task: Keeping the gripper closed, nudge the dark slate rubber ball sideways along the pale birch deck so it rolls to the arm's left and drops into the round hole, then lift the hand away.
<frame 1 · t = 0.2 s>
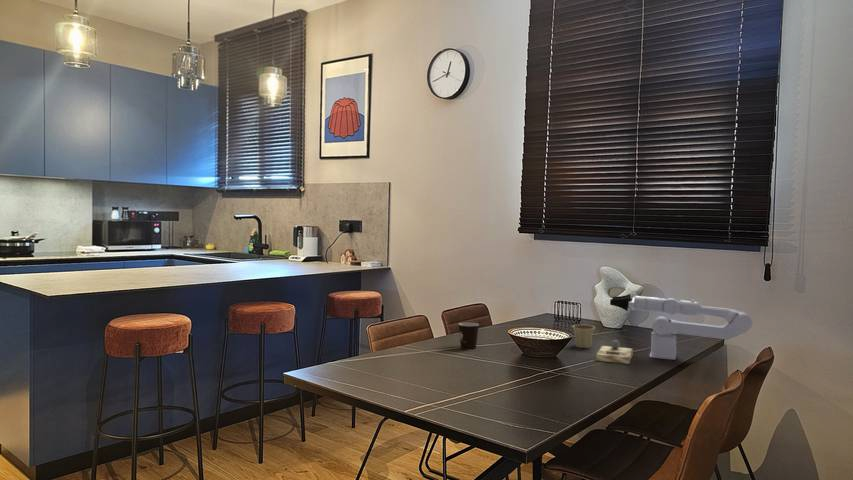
hand: (611, 300, 242), 21 cm above the table, tool horizontal, fingers open, 7 cm apart
coffee mug: (468, 347, 248), on the table
ball: (615, 344, 237), point 4 cm above the table, touching deck
flower pot: (583, 347, 252), on the table
deck: (614, 357, 232), on the table
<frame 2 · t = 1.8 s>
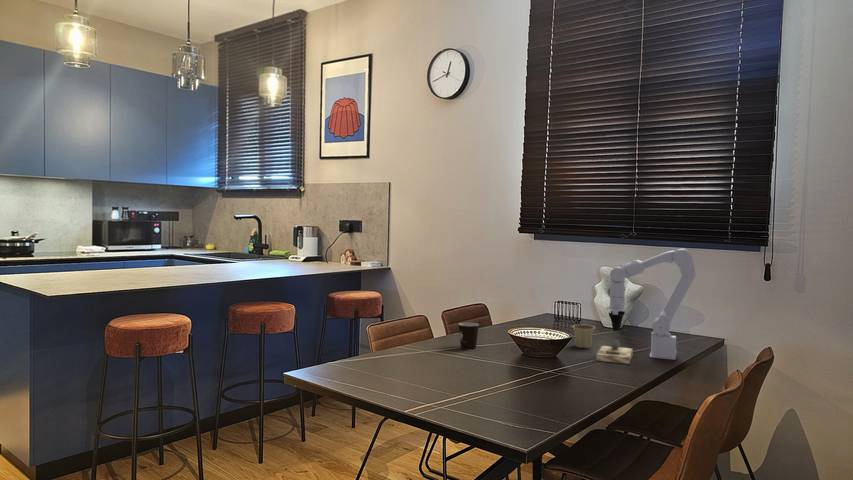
hand: (616, 329, 241), 9 cm above the table, tool pointing down, fingers open, 5 cm apart
nothing on the table moved.
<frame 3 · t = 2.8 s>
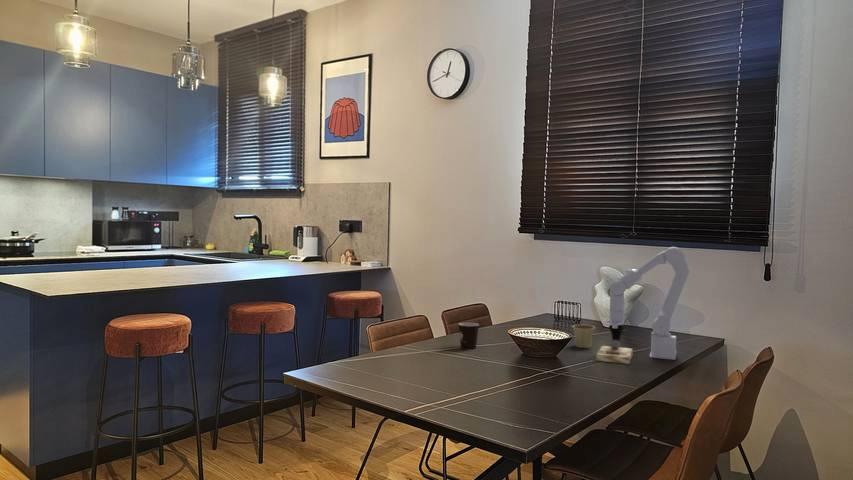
hand: (616, 343, 241), 4 cm above the table, tool pointing down, fingers closed
nothing on the table moved.
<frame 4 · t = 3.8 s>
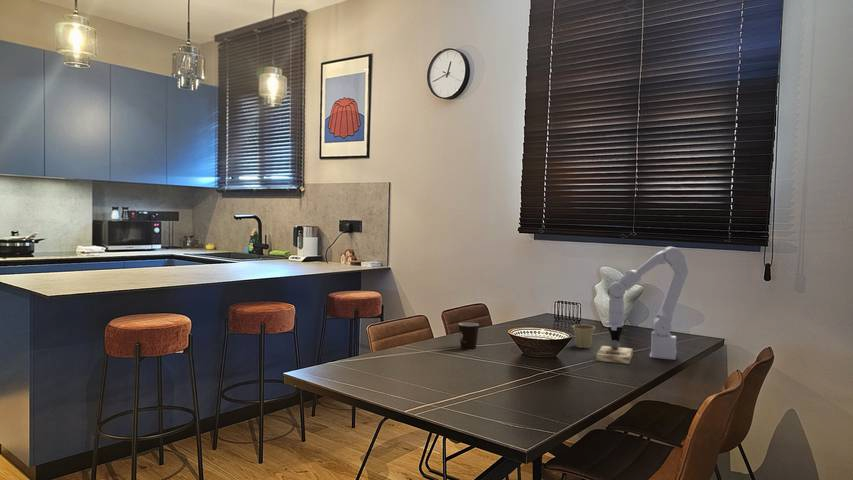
hand: (615, 345, 239), 3 cm above the table, tool pointing down, fingers closed, pressing on ball
ball: (615, 344, 237), point 4 cm above the table, tilted 8°, touching deck, gripper
everything else where it was.
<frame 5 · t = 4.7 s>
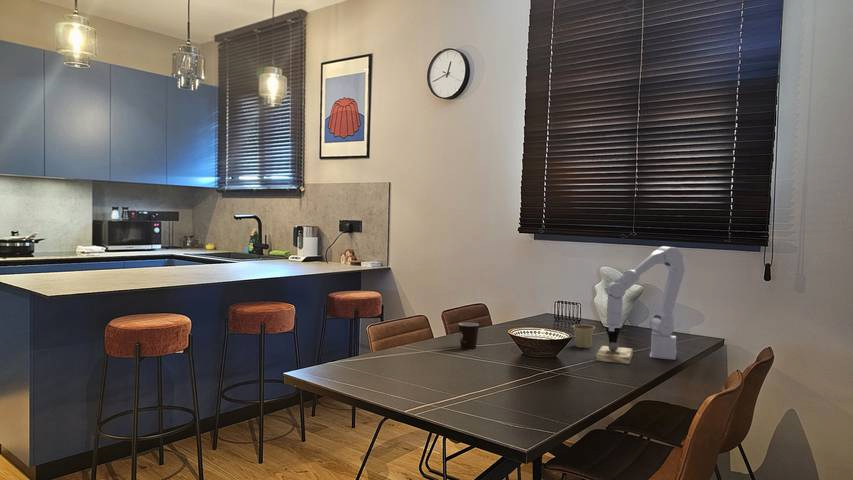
hand: (612, 346, 234), 4 cm above the table, tool pointing down, fingers closed, pressing on ball
ball: (613, 346, 233), point 4 cm above the table, tilted 149°, touching deck, gripper
everything else where it was.
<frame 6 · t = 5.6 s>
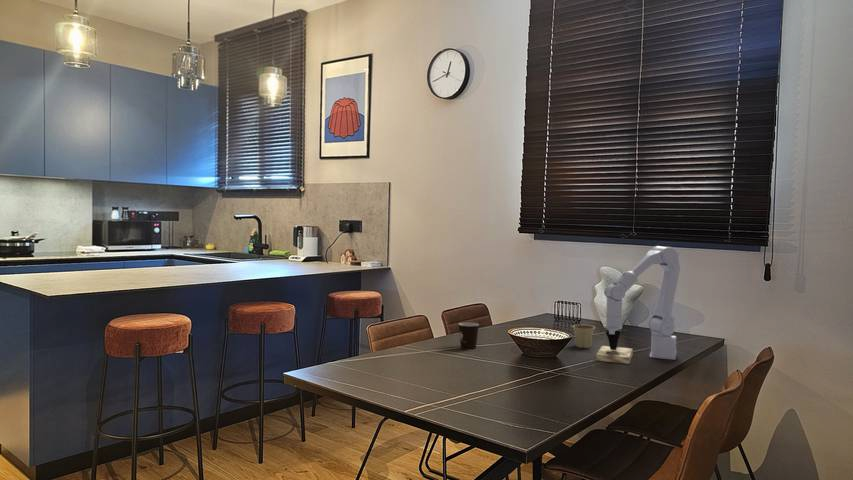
hand: (613, 349, 231), 3 cm above the table, tool pointing down, fingers closed
ball: (614, 355, 229), point 2 cm above the table, tilted 20°
everything else where it was.
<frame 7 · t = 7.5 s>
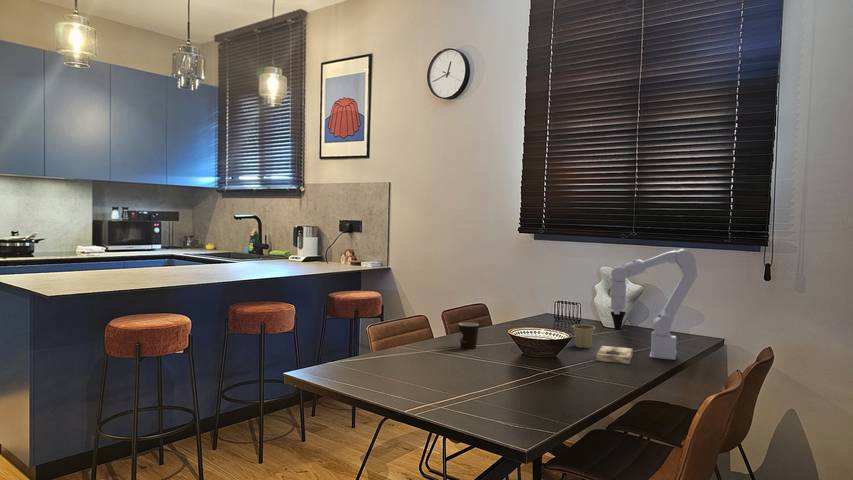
hand: (617, 329, 239), 10 cm above the table, tool pointing down, fingers closed
nothing on the table moved.
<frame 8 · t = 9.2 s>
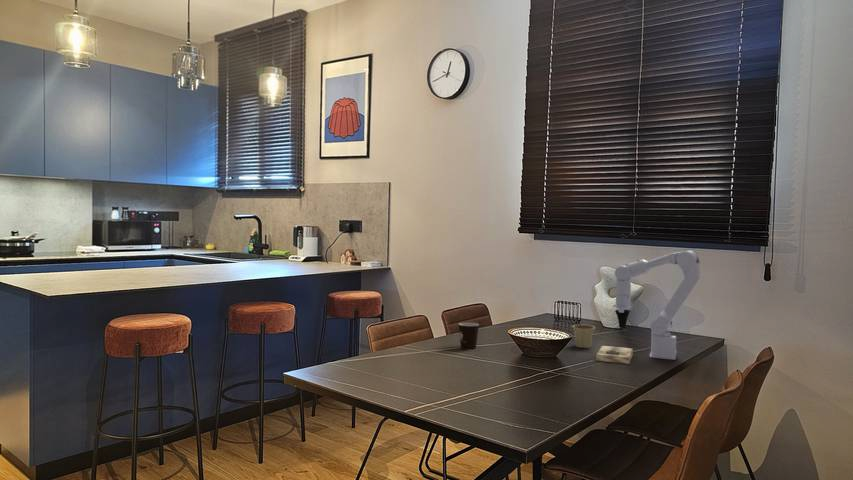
hand: (622, 327, 243), 10 cm above the table, tool pointing down, fingers closed
ball: (612, 354, 229), point 2 cm above the table, tilted 29°
everything else where it was.
at the end: ball 0.1 cm from the target spot in the deck, point 1.8 cm above the deck's base; ball touching table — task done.
